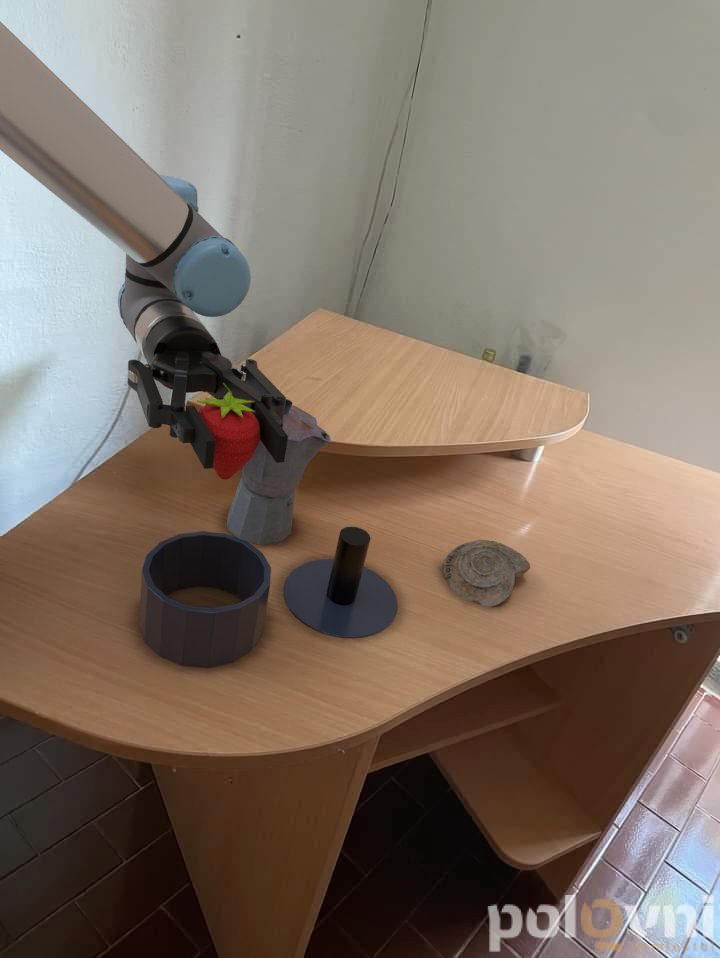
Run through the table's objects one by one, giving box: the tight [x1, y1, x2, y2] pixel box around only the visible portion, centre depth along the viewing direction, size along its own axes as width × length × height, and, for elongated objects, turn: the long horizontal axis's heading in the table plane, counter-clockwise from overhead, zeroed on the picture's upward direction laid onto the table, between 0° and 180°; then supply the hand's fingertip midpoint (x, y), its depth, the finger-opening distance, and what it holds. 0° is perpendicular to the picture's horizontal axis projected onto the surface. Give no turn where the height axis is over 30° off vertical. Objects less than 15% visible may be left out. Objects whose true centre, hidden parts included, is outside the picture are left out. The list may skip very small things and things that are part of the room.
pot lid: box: [282, 526, 399, 639], centre depth 82 cm, size 14×14×10 cm
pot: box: [138, 530, 272, 669], centre depth 75 cm, size 13×13×8 cm
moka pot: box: [226, 398, 332, 546], centre depth 89 cm, size 10×15×20 cm, turn 81°
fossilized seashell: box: [442, 539, 531, 608], centre depth 92 cm, size 11×11×7 cm
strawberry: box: [196, 383, 261, 481], centre depth 65 cm, size 6×8×10 cm
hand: (246, 451), depth 61 cm, fingers closed on strawberry, 6 cm apart
